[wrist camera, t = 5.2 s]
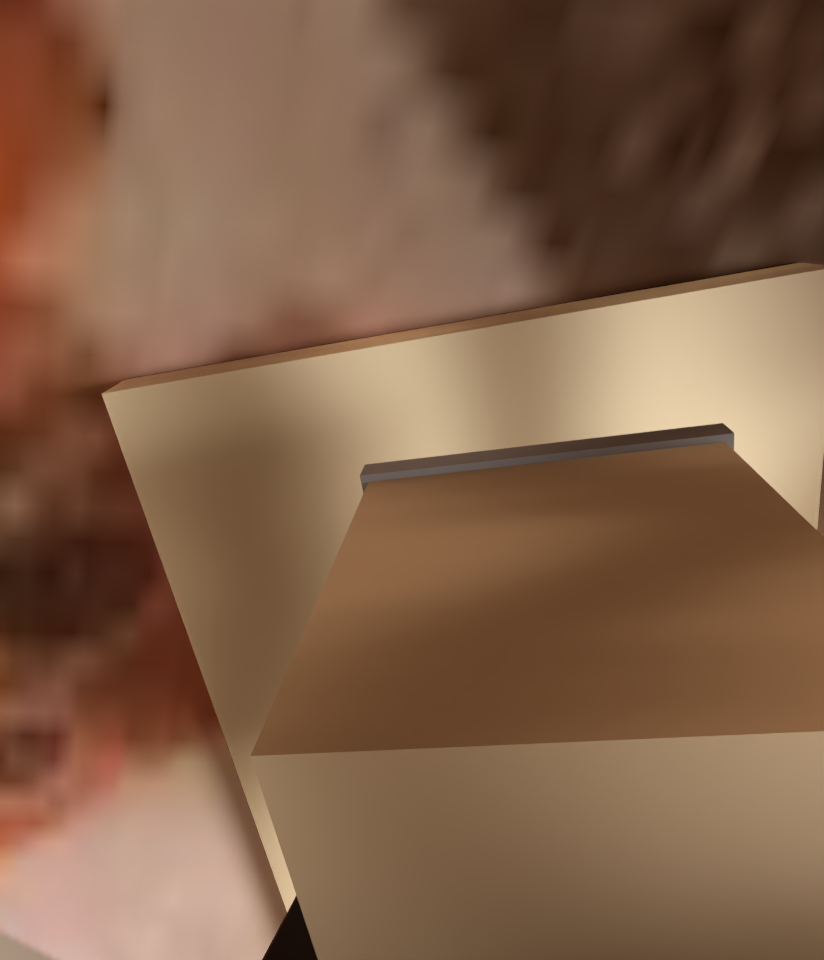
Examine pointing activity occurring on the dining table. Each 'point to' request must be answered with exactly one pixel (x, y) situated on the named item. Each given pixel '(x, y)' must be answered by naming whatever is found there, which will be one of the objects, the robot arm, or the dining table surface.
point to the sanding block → (560, 712)
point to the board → (437, 444)
